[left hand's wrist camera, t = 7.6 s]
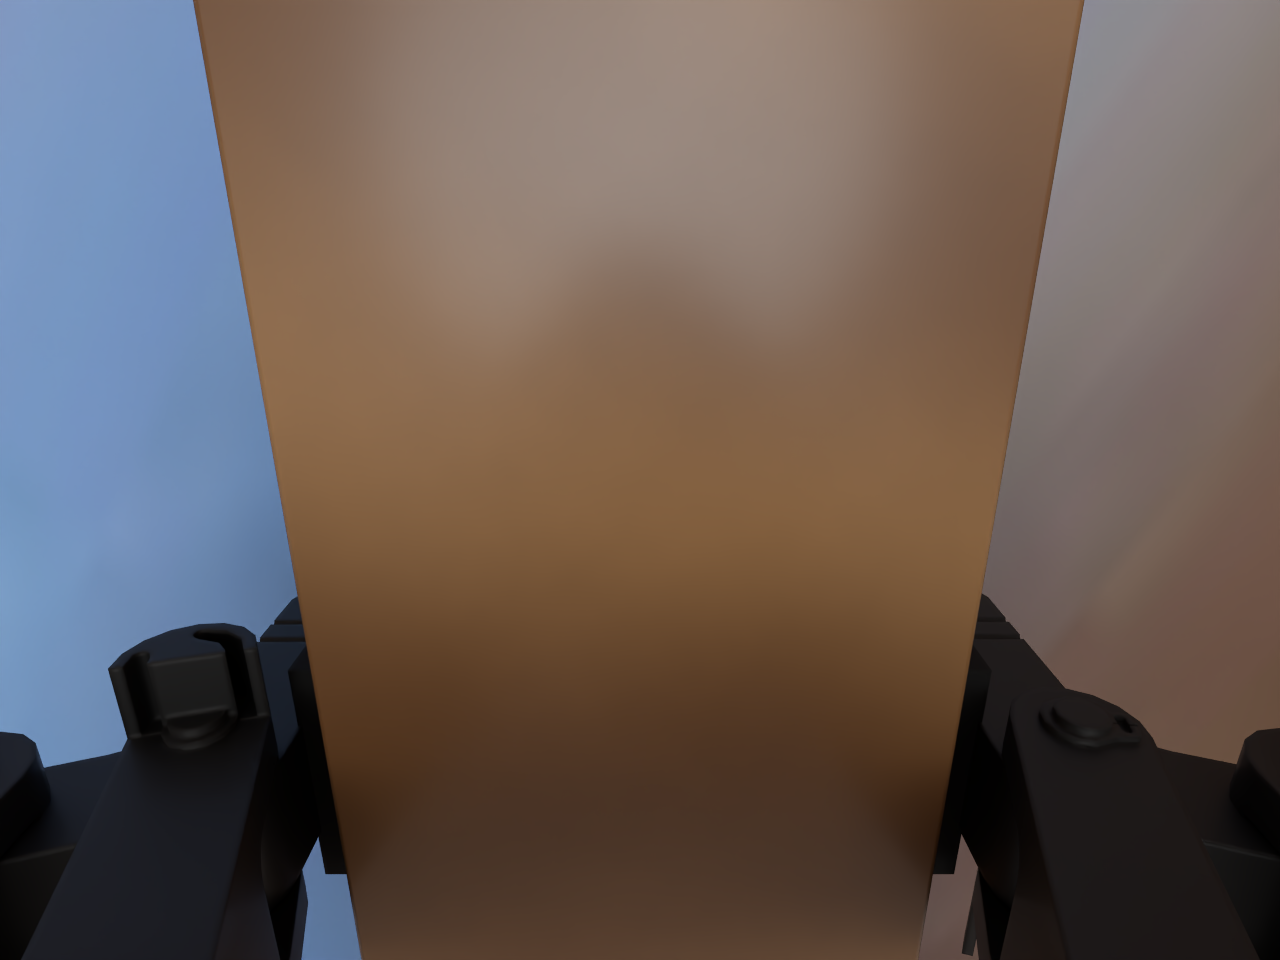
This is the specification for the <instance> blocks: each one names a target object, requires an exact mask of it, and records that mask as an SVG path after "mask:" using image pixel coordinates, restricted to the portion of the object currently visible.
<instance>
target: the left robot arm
mask: <svg viewBox="0 0 1280 960" xmlns="http://www.w3.org/2000/svg"><path fill="white" fill-rule="evenodd" d="M274 621H275V623H274V625H270V626H269V628H268V629H267V630H266V631H265V632H264V634H263V635H262V636H261V637H260V642H257V641H256V636H255V635H254V634H253V633H251V632H250V631H249V630H247V629H246V628H245V627H242V626H236V625H231V624H226V623H216V624H198V625H193V626H189V627H184V628H179V629H175V630H171V631H168V632H165V633H163V634H160V635H158V636H155V637H152V638H150V639H147V640H144V641H143V642H141V643H139V644H138V645H136V646H134V647H133V648H131V649H129V650H128V651H126V652H124V653H123V654H121V656H120V657H119V658H118V659H117V660H116V661H115V662H114V663H113V664H112V665H111V666H110V667H109V668H108V671H109V674H110V678H111V681H112V685H113V689H114V692H115V696H116V699H117V703H118V706H119V710H120V713H121V717H122V720H123V724H124V728H125V731H126V735H127V738H128V739H127V741H126V743H125V745H124V747H123V749H122V751H121V752H117V753H113V754H110V755H105V756H100V757H95V758H90V759H85V760H80V761H75V762H71V763H66V764H61V765H56V766H51V767H46V768H44V767H43V764H42V761H41V758H40V755H39V752H38V749H37V746H36V743H35V742H33V741H32V740H31V739H29V738H28V737H26V736H25V735H23V734H16V733H7V732H0V960H301V957H302V949H303V941H304V932H305V924H306V916H307V907H308V899H307V892H306V886H305V881H304V876H303V871H302V869H303V867H304V865H305V863H306V861H307V859H308V857H309V855H310V853H311V851H312V849H313V847H314V845H315V842H316V840H317V838H318V836H319V842H320V847H321V852H322V858H323V863H324V868H325V874H346V868H345V862H344V856H343V851H342V845H341V839H340V834H339V828H338V822H337V817H336V811H335V805H334V799H333V794H332V788H331V782H330V777H329V771H328V765H327V760H326V754H325V748H324V743H323V737H322V731H321V725H320V720H319V714H318V708H317V703H316V697H315V691H314V686H313V680H312V674H311V669H310V663H309V657H308V651H307V646H306V640H305V634H304V629H303V623H302V617H301V612H300V606H299V600H298V596H297V597H296V598H294V599H293V600H291V601H290V603H289V604H288V605H287V606H286V607H285V609H284V610H283V611H282V612H281V613H280V615H279V616H278V617H277V618H276V619H275V620H274ZM961 834H962V836H963V838H964V840H965V842H966V844H967V846H968V848H969V850H970V852H971V854H972V856H973V858H974V860H975V862H976V864H977V866H978V871H977V876H976V881H975V886H974V891H973V896H972V901H971V906H970V911H969V916H968V921H967V926H966V931H965V936H964V942H963V949H962V954H967V955H971V956H973V952H974V947H975V942H976V939H977V947H978V955H979V960H1280V728H1276V729H1267V730H1258V731H1256V732H1255V733H1253V734H1252V735H1250V736H1249V737H1248V738H1246V739H1245V741H1244V744H1243V747H1242V750H1241V753H1240V756H1239V759H1238V762H1237V764H1232V763H1227V762H1222V761H1217V760H1212V759H1207V758H1202V757H1197V756H1192V755H1187V754H1182V753H1177V752H1172V751H1168V750H1164V749H1161V748H1157V746H1156V744H1155V742H1154V740H1153V738H1152V737H1151V735H1150V734H1149V733H1148V731H1147V730H1146V729H1145V728H1144V726H1143V725H1142V724H1141V723H1140V721H1138V720H1137V719H1135V718H1134V717H1133V716H1131V715H1130V714H1128V713H1127V712H1125V711H1124V710H1123V709H1121V708H1120V707H1118V706H1116V705H1114V704H1111V703H1109V702H1107V701H1105V700H1102V699H1100V698H1098V697H1096V696H1093V695H1090V694H1086V693H1082V692H1078V691H1074V690H1070V689H1065V688H1064V686H1063V685H1062V684H1061V683H1060V682H1059V680H1058V679H1057V678H1056V677H1055V676H1054V675H1053V673H1052V672H1051V671H1050V670H1049V669H1048V667H1047V666H1046V665H1045V664H1044V663H1043V662H1042V660H1041V659H1040V658H1039V657H1038V656H1037V654H1036V653H1035V652H1034V651H1033V650H1032V649H1031V647H1030V646H1029V645H1028V644H1027V643H1026V641H1025V640H1024V639H1020V634H1019V633H1018V632H1017V631H1016V630H1015V628H1014V627H1013V626H1012V625H1011V624H1010V623H1009V622H1006V621H1005V617H1004V615H1003V614H1002V613H1001V612H1000V611H999V610H998V608H997V607H996V606H995V605H994V604H993V602H992V601H991V600H990V599H989V598H988V597H987V596H985V595H983V594H982V593H981V599H980V605H979V611H978V616H977V622H976V628H975V634H974V639H973V645H972V651H971V657H970V663H969V668H968V674H967V680H966V686H965V691H964V697H963V703H962V709H961V714H960V720H959V726H958V732H957V738H956V743H955V749H954V755H953V761H952V766H951V772H950V778H949V784H948V789H947V795H946V801H945V807H944V812H943V818H942V824H941V830H940V836H939V841H938V847H937V853H936V859H935V864H934V870H933V874H954V871H955V865H956V860H957V855H958V849H959V844H960V839H961Z"/></svg>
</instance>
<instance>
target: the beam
mask: <svg viewBox="0 0 1280 960" xmlns="http://www.w3.org/2000/svg"><path fill="white" fill-rule="evenodd" d="M193 2H194V8H195V14H196V19H197V25H198V31H199V36H200V42H201V48H202V54H203V59H204V65H205V71H206V76H207V82H208V88H209V93H210V99H211V105H212V110H213V116H214V122H215V128H216V133H217V139H218V145H219V150H220V156H221V162H222V167H223V173H224V179H225V184H226V190H227V196H228V202H229V207H230V213H231V219H232V224H233V230H234V236H235V241H236V247H237V253H238V259H239V264H240V270H241V276H242V281H243V287H244V293H245V298H246V304H247V310H248V315H249V321H250V327H251V333H252V338H253V344H254V350H255V355H256V361H257V367H258V372H259V378H260V384H261V389H262V395H263V401H264V407H265V412H266V418H267V424H268V429H269V435H270V441H271V446H272V452H273V458H274V464H275V469H276V475H277V481H278V486H279V492H280V498H281V503H282V509H283V515H284V520H285V526H286V532H287V538H288V543H289V549H290V555H291V560H292V566H293V572H294V577H295V583H296V589H297V594H298V600H299V606H300V612H301V617H302V623H303V629H304V634H305V640H306V646H307V651H308V657H309V663H310V669H311V674H312V680H313V686H314V691H315V697H316V703H317V708H318V714H319V720H320V725H321V731H322V737H323V743H324V748H325V754H326V760H327V765H328V771H329V777H330V782H331V788H332V794H333V799H334V805H335V811H336V817H337V822H338V828H339V834H340V839H341V845H342V851H343V856H344V862H345V868H346V874H347V879H348V885H349V891H350V896H351V902H352V908H353V913H354V919H355V925H356V930H357V936H358V942H359V948H360V953H361V959H362V960H918V957H919V951H920V945H921V939H922V934H923V928H924V922H925V916H926V911H927V905H928V899H929V893H930V887H931V882H932V876H933V870H934V864H935V859H936V853H937V847H938V841H939V836H940V830H941V824H942V818H943V812H944V807H945V801H946V795H947V789H948V784H949V778H950V772H951V766H952V761H953V755H954V749H955V743H956V738H957V732H958V726H959V720H960V714H961V709H962V703H963V697H964V691H965V686H966V680H967V674H968V668H969V663H970V657H971V651H972V645H973V639H974V634H975V628H976V622H977V616H978V611H979V605H980V599H981V593H982V588H983V582H984V576H985V570H986V564H987V559H988V553H989V547H990V541H991V536H992V530H993V524H994V518H995V513H996V507H997V501H998V495H999V490H1000V484H1001V478H1002V472H1003V466H1004V461H1005V455H1006V449H1007V443H1008V438H1009V432H1010V426H1011V420H1012V415H1013V409H1014V403H1015V397H1016V391H1017V386H1018V380H1019V374H1020V368H1021V363H1022V357H1023V351H1024V345H1025V340H1026V334H1027V328H1028V322H1029V316H1030V311H1031V305H1032V299H1033V293H1034V288H1035V282H1036V276H1037V270H1038V265H1039V259H1040V253H1041V247H1042V241H1043V236H1044V230H1045V224H1046V218H1047V213H1048V207H1049V201H1050V195H1051V190H1052V184H1053V178H1054V172H1055V167H1056V161H1057V155H1058V149H1059V143H1060V138H1061V132H1062V126H1063V120H1064V115H1065V109H1066V103H1067V97H1068V92H1069V86H1070V80H1071V74H1072V68H1073V63H1074V57H1075V51H1076V45H1077V40H1078V34H1079V28H1080V22H1081V17H1082V11H1083V5H1084V0H193Z"/></svg>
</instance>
